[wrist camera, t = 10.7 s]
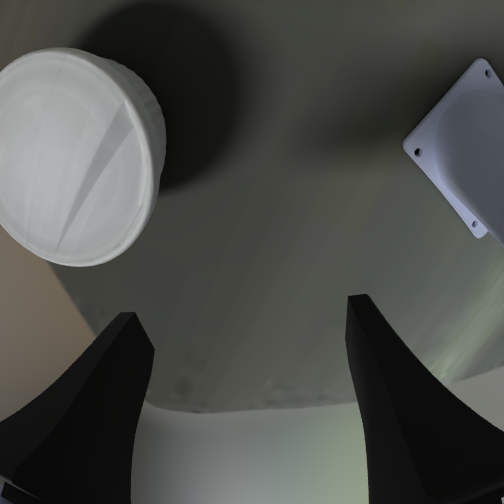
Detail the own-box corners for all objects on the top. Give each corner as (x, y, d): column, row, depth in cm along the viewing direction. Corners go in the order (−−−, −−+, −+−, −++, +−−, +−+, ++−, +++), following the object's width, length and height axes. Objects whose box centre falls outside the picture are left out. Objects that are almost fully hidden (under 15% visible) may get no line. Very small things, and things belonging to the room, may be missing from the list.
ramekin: (182, 229, 20) (158, 284, 15) (38, 213, 19) (-4, 254, 15) (192, 41, 13) (160, 34, 9) (23, 58, 13) (-36, 71, 9)
